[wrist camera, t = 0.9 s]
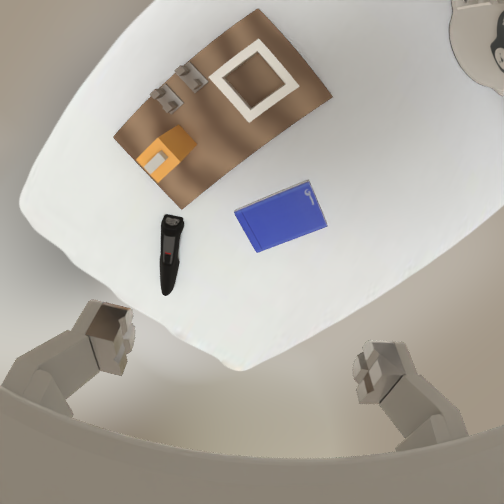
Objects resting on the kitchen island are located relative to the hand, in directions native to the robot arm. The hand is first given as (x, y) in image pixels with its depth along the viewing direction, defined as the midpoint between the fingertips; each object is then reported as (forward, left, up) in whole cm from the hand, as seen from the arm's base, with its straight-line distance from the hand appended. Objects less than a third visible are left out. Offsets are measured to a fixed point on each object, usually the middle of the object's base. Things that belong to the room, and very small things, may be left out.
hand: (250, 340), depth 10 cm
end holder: (-4, -7, -36) cm, 36 cm away
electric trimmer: (+26, +6, -37) cm, 46 cm away
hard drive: (+6, +12, -38) cm, 40 cm away
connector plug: (+10, -7, -36) cm, 38 cm away
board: (+3, -7, -37) cm, 37 cm away
